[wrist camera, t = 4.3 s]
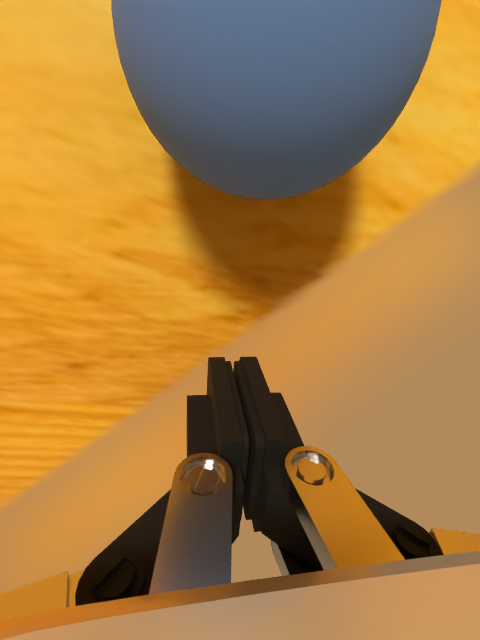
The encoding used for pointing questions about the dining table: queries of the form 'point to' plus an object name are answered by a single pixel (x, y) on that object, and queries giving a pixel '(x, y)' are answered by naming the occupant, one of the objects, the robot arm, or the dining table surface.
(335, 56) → the ball
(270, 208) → the dining table surface
